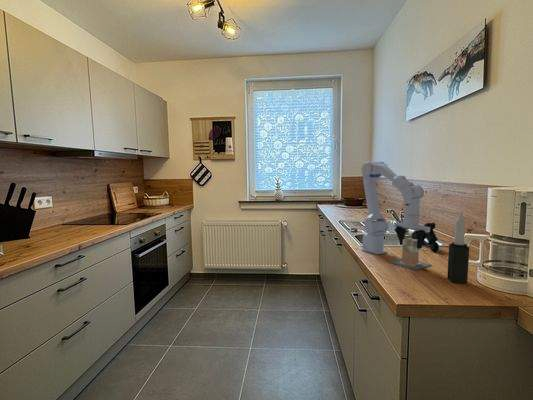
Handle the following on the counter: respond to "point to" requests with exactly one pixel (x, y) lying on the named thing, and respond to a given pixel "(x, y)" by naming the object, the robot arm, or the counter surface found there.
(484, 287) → the counter surface
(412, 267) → the board
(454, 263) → the black and grey bottle
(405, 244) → the block cream
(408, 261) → the block brown
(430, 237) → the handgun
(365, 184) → the robot arm
